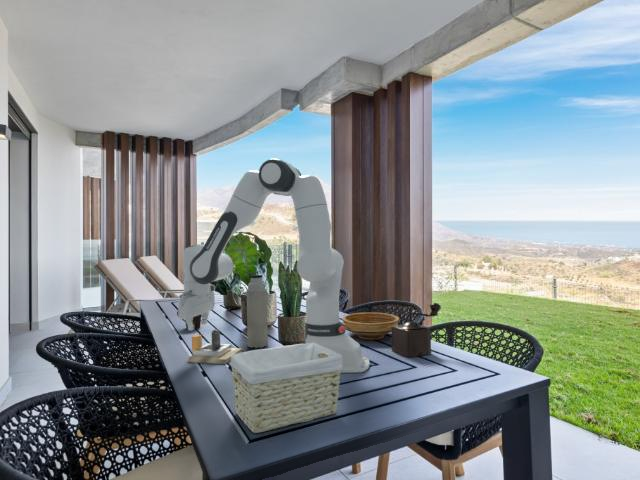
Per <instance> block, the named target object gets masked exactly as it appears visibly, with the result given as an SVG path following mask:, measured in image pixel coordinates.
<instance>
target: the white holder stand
mask: <svg viewBox="0 0 640 480" xmlns="http://www.w3.org/2000/svg"><path fill="white" fill-rule="evenodd" d="M231 348H232V343H220V348H219V349H217V350H212V342H210V343H209V342H206V343H205V344H203V335H202V334H194V335H192V336H191V353H192V355H193V356H201V357H221V356H222V355H224V354H225V353H227V352H229V351H230V350H231Z"/></svg>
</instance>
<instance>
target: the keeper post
mask: <svg viewBox="0 0 640 480" xmlns="http://www.w3.org/2000/svg"><path fill="white" fill-rule="evenodd" d="M211 343H212V350H217V349H219V348H220V344H221V332H220V330H219V329H217V328H216V329H213V330H212V331H211ZM242 352H243V348H241V347H239V348H238V347H237V348H236V347H231V350H230V351H229V352H227V353H225V354H224V355H222V356H221V357H201V356H193V354H192V355H191V356H189V357H188V363H202V364H203V363H204V364H221V365H226V364H228V363H229V362H231V355H233V354H237V353H242Z"/></svg>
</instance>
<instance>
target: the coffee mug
mask: <svg viewBox="0 0 640 480" xmlns="http://www.w3.org/2000/svg"><path fill="white" fill-rule="evenodd" d="M176 315H177V317H178V318H179V316H178V310H177V312H176ZM201 320H202V314H200V315H198V316H195V317H193V320H192V322H193V325H194V329H193V330H197V329H200V328H201V325H202V324H201ZM181 321H183V322H185V328H186V329H187V330H188V325H187V323H186V320H185V319H181Z"/></svg>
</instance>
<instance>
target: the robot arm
mask: <svg viewBox="0 0 640 480" xmlns="http://www.w3.org/2000/svg"><path fill="white" fill-rule="evenodd" d="M324 191H325V190H324V189H323V185H322V183H321V181H320V180H319V178H318V176H317V177H316V176H314V175H309V174H306V175H302V173H301V172H300V170H299V169H297V168H296V167H294V166H293V165H292V164H291V163H288V162H287V161H284V160H282V159H279V158H270V159H268V160H265V161H264V162H263V163H262V164H261V165H260V167H259V169H258V170H256V169H255V170H254V169H253V170H248V171H246V172H245V173H244V174H243V176H242V177H241V178H240V180H239V181H238V183H237V185H236V187H235V188H234V191H233V192H232V195H231V197H230V199H229V202H228V204H227V205H226V208H225V209H224V211H223V213H221V215H220V217H219V218H218V220H217V221H216V223H215V224H214V227H213V228H212V231H211V232H210V234H209V235H208V238H207V239H206V242H205V244H203V243H199V244H192V245H189V246H187V247H186V248H185V249H184V251H183V255H182V270H183V271H182V272H183V274H184V277H183V292H182V294H181V296H180V298H179V301H178V310H177V311H178V315H177V317H178V316H179V317H178V318H179V320H182V319H184V320H186V322H185V324H186V323H187V325H188V329H187V330H188V331H193V330H195V329H194V325H193V322H192V320H193V317H195V316H198V315H200V314H201V324H200V325H202V326H203V325H207V324H208V318H209V315H210V312H211V311H213V310H214V309H215V303H216V302H215V291H216V286H215V285H214V284H212V283H213V282H217V281H220V280H224V279H227V278H228V277H230V275H232V273H233V271H234V268H235V267H234V262H233V261H234V260H233V259H232V257H231V256H230V255H229V254H227V253H223V252H224V250H225V248H226V247H227V245H228V242H229V241H230V240H231V238H232V237H233V235H234V234H236V233H237V232H238V231H240V230H242V229H244V228H246V227H248V226H250V225H252V224H253V223H254V222H255V221H256V219H257V218H258V216H259V214H260V212H261V210H262V207H263V205H264V204H265V201H266V199H267V198H268V196H270V195H271V194H274V195H278V196H285V197H288V196H289V197H291V199H292V203H293V207H294V211H295V218H296V224H297V229H298V237H299V238H298V247H299V248H298V251H299V252H298V260H297V263H296V271H297V273H298V275H299V277H300V278H301V279H302V280H305V281H306V282H308V283H309V288H308V293H307V296H306V298H305V309H306V310H305V312H306V313H305V314H306V315H305V318H306V319H305V321H306V322H305V323H304V336H305V344H308V343H316V344H318V345H321V346H323V347H325V348H328V349H330V350H332V351H334V352H336V353H338V354H340V355H342V370H341V374H342V373H344V374H346V373H363V372H366V371H367V370H368V369H369V368H370V359H369V358H367V357H365V356H364V354H363V350H362V349H363V348H362V346H361V345H360V343H359V342H357V341H356V340H355V339H354V338H352V337H351V336H349V335H348V334H347V333H346V328H345V323H343V322H341V321H340V293H341V292H340V290H341V282H342V277H343V268H344V264H345V262H344V258H343V255H342V254H341V253H340V252H339V251H338V250H337V249H335V248H334V247H333V248H332V247H331V233H332V225H331V219H330V218H331V217H330V213H329V207H328V203H327V198H326V194H325V192H324ZM318 359H321V358H320V357H319V356H318Z"/></svg>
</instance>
